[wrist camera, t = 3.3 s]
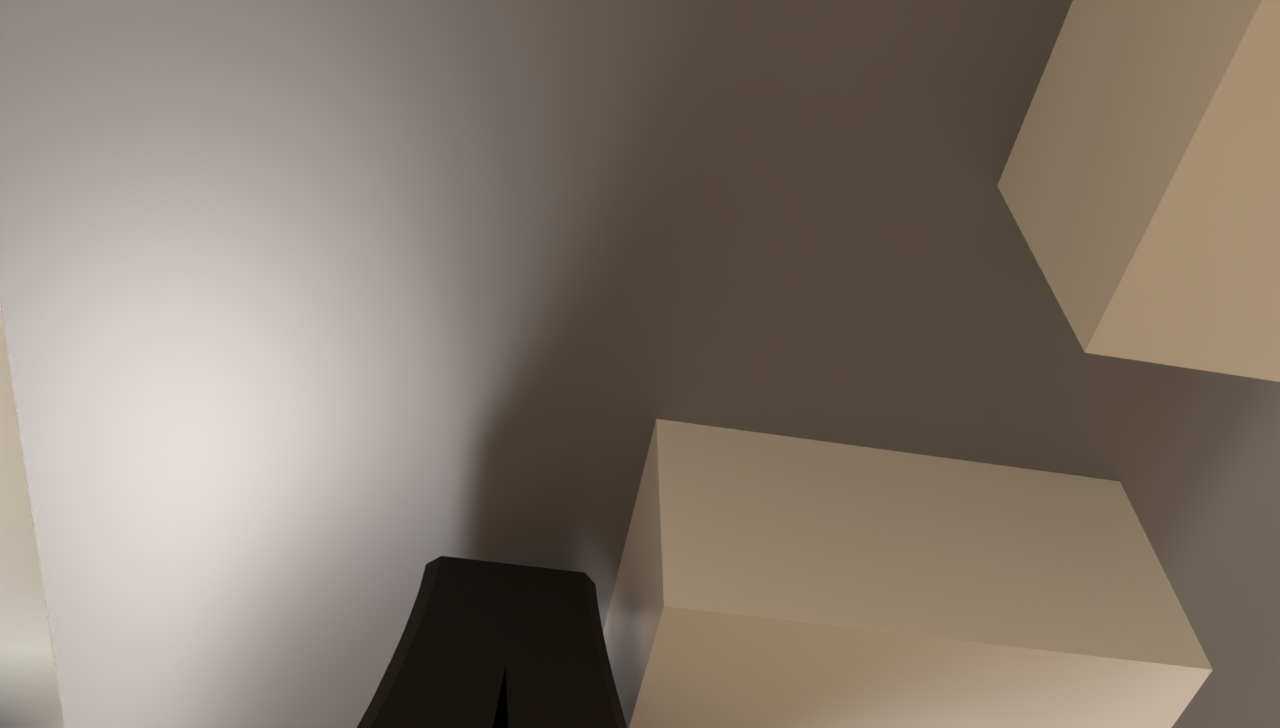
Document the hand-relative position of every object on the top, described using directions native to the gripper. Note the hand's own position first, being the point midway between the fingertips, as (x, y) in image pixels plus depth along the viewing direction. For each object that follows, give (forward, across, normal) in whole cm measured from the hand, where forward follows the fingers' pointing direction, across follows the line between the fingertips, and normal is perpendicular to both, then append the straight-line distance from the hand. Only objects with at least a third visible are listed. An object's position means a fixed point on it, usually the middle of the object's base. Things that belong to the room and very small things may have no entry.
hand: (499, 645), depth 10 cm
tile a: (+1, -3, 0) cm, 3 cm away
